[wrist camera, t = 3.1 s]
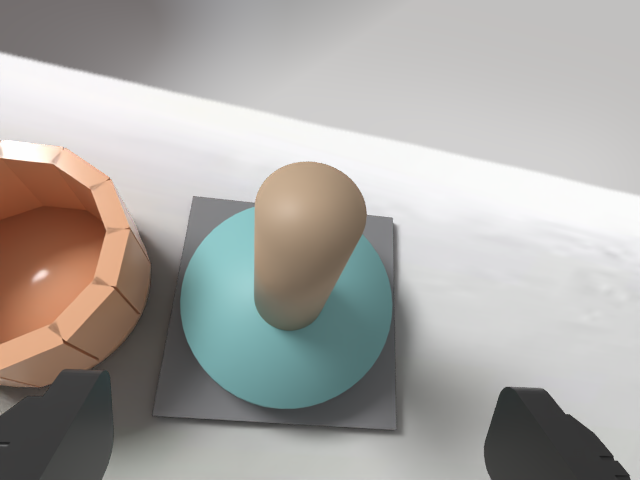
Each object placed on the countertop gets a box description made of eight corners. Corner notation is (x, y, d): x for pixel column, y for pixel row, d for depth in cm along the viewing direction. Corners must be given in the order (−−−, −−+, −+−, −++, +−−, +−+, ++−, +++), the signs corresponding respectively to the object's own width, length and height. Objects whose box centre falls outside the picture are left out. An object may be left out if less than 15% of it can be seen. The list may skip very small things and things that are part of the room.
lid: (167, 403, 18) (92, 371, 10) (202, 206, 22) (169, 58, 13) (384, 416, 19) (489, 398, 11) (383, 225, 23) (460, 99, 14)
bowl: (-100, 379, 18) (-205, 362, 14) (-22, 189, 21) (-87, 129, 17) (127, 394, 19) (92, 381, 15) (167, 208, 22) (147, 156, 18)
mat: (154, 416, 18) (152, 415, 18) (194, 200, 23) (193, 196, 22) (393, 429, 19) (396, 429, 19) (390, 221, 24) (392, 217, 23)
